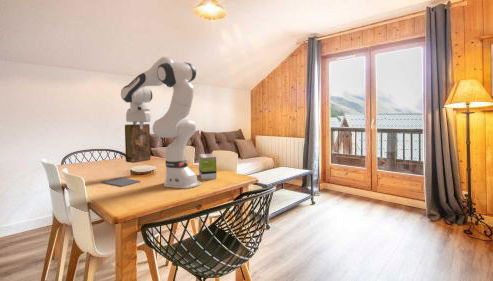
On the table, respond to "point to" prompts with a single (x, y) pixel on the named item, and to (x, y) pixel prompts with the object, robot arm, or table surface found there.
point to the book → (137, 143)
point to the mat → (120, 181)
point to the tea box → (207, 166)
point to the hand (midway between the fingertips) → (138, 128)
